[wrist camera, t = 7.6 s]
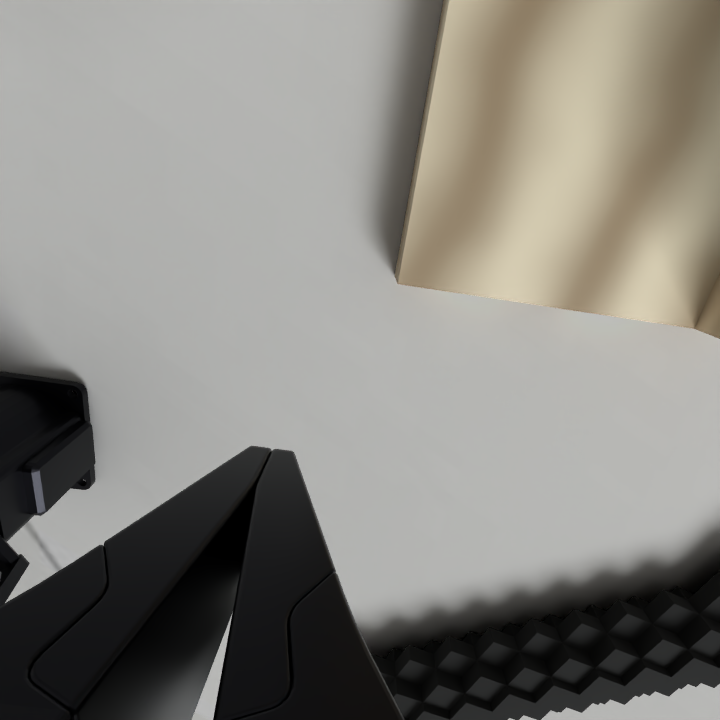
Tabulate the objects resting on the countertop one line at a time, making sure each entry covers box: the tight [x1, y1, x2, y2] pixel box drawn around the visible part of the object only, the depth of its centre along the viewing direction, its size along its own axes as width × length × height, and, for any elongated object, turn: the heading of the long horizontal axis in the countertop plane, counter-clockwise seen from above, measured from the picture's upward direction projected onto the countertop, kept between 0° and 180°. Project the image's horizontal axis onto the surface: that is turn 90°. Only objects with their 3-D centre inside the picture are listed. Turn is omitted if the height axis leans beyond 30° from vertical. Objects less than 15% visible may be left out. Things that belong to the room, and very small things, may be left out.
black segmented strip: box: [371, 571, 720, 720], centre depth 27 cm, size 11×40×4 cm, turn 108°
